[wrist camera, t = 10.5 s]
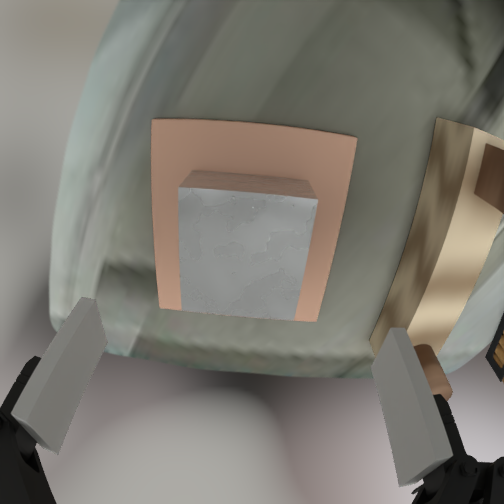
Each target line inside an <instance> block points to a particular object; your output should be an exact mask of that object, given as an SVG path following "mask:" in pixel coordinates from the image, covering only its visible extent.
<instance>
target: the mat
mask: <svg viewBox="0 0 504 504" xmlns="http://www.w3.org/2000/svg"><path fill="white" fill-rule="evenodd" d="M356 144H357V138H356V137H354V136H350V135H344V134H338V133H333V132H326V131H320V130H313V129H306V128H299V127H291V126H283V125H274V124H264V123H254V122H242V121H227V120H209V119H166V118H162V119H152V124H151V188H152V216H153V235H154V251H155V264H156V275H157V286H158V296H159V305H160V308H165V309H173V310H182V307H181V289H180V266H179V229H178V187H179V186H180V184H181V183H182V182H183V181H184V180H185V178H186V177H187V176H188V175H189V173H190V172H191V171H192V170H199V171H215V172H228V173H241V174H252V175H263V176H273V177H283V178H292V179H300V180H308V181H309V183H310V185H311V187H312V189H313V191H314V192H315V194H316V196H317V198H318V204H317V209H316V215H315V220H314V226H313V231H312V236H311V242H310V247H309V252H308V257H307V262H306V267H305V272H304V276H303V281H302V286H301V291H300V295H299V300H298V304H297V309H296V313H295V318H294V321H312V322H316V321H317V318H318V314H319V310H320V307H321V303H322V299H323V296H324V292H325V288H326V284H327V281H328V277H329V273H330V269H331V265H332V261H333V257H334V252H335V248H336V244H337V240H338V235H339V231H340V226H341V222H342V217H343V212H344V208H345V203H346V198H347V193H348V188H349V183H350V178H351V172H352V167H353V161H354V156H355V150H356ZM182 311H183V310H182ZM190 312H191V311H190ZM199 313H200V312H199ZM209 314H210V313H209ZM219 315H220V314H219ZM229 316H230V315H229ZM240 317H242V316H240ZM252 318H254V317H252ZM265 319H266V318H265ZM279 320H281V319H279Z"/></svg>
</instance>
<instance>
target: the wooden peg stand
mask: <svg viewBox="0 0 504 504" xmlns="http://www.w3.org/2000/svg"><path fill="white" fill-rule="evenodd" d="M502 214H504V140H502V139H500V138H498V137H495V136H493V135H491V134H489V133H486V132H484V131H482V130H479V129H477V128H475V127H471V126H468V125H464V124H461V123H457V122H453V121H449V120H445V119H441V118H436V124H435V129H434V135H433V140H432V146H431V151H430V155H429V160H428V165H427V169H426V173H425V178H424V182H423V186H422V190H421V194H420V198H419V202H418V205H417V209H416V212H415V216H414V219H413V223H412V226H411V230H410V233H409V236H408V239H407V243H406V246H405V249H404V252H403V255H402V258H401V261H400V264H399V267H398V269H397V272H396V275H395V278H394V281H393V283H392V286H391V289H390V291H389V294H388V297H387V299H386V302H385V304H384V307H383V309H382V312H381V314H380V317H379V319H378V321H377V324H376V326H375V329H374V331H373V333H372V335H371V338H370V340H369V341H370V344H371V347H372V350H373V352H374V355H375V358H376V356H377V354H378V352H379V350H380V348H381V346H382V344H383V342H384V340H385V338H386V336H387V334H388V332H389V330H390V328H405V329H406V331H407V334H408V336H409V338H410V340H411V343H412V345H413V347H414V350H415V352H416V354H417V357H418V359H419V361H420V364H421V366H422V369H423V371H424V374H425V376H426V379H427V381H428V384H429V386H430V389H431V391H432V394H433V395H435V394H441V395H442V396H443V397H444V398H445V400H446V401H448V399H449V398H450V397H451V395H452V392H453V391H452V388H451V386H450V384H449V382H448V380H447V378H446V375H445V373H444V371H443V369H442V367H441V365H440V363H439V361H438V359H437V357H436V356H437V355H438V353H439V351H440V350H441V348H442V346H443V345H444V343H445V341H446V339H447V338H448V336H449V334H450V332H451V331H452V329H453V327H454V325H455V323H456V322H457V320H458V318H459V316H460V314H461V312H462V310H463V308H464V306H465V304H466V302H467V300H468V298H469V296H470V294H471V292H472V290H473V288H474V286H475V283H476V281H477V279H478V277H479V275H480V272H481V270H482V268H483V265H484V263H485V260H486V258H487V256H488V253H489V251H490V248H491V245H492V243H493V240H494V237H495V235H496V232H497V229H498V226H499V223H500V220H501V217H502Z"/></svg>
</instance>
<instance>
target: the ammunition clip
mask: <svg viewBox="0 0 504 504" xmlns="http://www.w3.org/2000/svg"><path fill="white" fill-rule="evenodd" d="M486 359H487V361H488V362H489V364H490V365H491V367H492V369H493V370H494V372H495V373H496V375H497V377H498V378H499V380H500V382H501V381H503V382H504V313H503V316H502V319H501V321H500V324H499V326H498V329H497V331H496V334H495V336H494V339H493V341H492V343H491V345H490V348H489V350H488V352H487V354H486Z"/></svg>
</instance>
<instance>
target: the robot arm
mask: <svg viewBox="0 0 504 504" xmlns="http://www.w3.org/2000/svg"><path fill="white" fill-rule="evenodd" d="M107 343H108V341H107V338H106V335H105V331H104V328H103V324H102V321H101V317H100V314H99V310H98V306H97V302H96V299H91V298H85V297H81V299H80V300H79V302H78V303H77V304H76V306H75V307H74V309H73V310H72V312H71V313H70V315H69V316H68V318H67V319H66V321H65V322H64V324H63V325H62V327H61V328H60V330H59V331H58V333H57V334H56V336H55V338H54V339H53V341H52V342H51V344H50V346H49V347H48V349H47V350H46V352H45V353H44V355H43V357H42V358H40V357H37V356H34V357H33V358H32V359H30V360H29V361H28V362H27V363H26V364H25V366H24V368H23V369H22V371H21V372H20V373H21V374H20V375H19V376H18V377H17V379H16V382H15V383H14V384H13V386H12V388H11V390H10V391H9V393H8V395H7V397H6V399H5V400H4V402H3V404H2V406H1V407H0V504H56V501H55V499H54V497H53V494H52V492H51V490H50V487H49V484H48V481H47V479H46V476H45V473H44V471H43V468H42V465H41V462H40V459H39V456H38V453H37V450H36V448H35V446H36V443H38V444H39V445H40V446H41V447H42V448H43V449H46V450H48V451H50V452H52V453H54V454H57V455H58V454H59V451H60V448H61V446H62V444H63V441H64V438H65V436H66V433H67V431H68V429H69V426H70V424H71V421H72V419H73V416H74V414H75V412H76V409H77V407H78V405H79V403H80V400H81V398H82V396H83V393H84V391H85V389H86V387H87V385H88V382H89V380H90V378H91V376H92V374H93V372H94V369H95V367H96V365H97V363H98V361H99V359H100V357H101V355H102V353H103V351H104V349H105V347H106V345H107ZM371 370H372V373H373V377H374V380H375V384H376V388H377V392H378V396H379V399H380V403H381V406H382V411H383V415H384V419H385V423H386V427H387V432H388V436H389V440H390V445H391V449H392V453H393V458H394V463H395V468H396V473H397V478H398V484H399V487H402V486H407V485H411V484H415V483H417V482H418V481H419V480H421V479H423V481H424V484H423V485H421V486H419V487H418V488H416V489H415V490H414V491H413V492H412V494H415V493H416V492H418V493H417V495H416V497H415V499H414V500H413V502H412V504H504V457H500V458H499V459H497V460H496V461H495V462H493V463H489V462H477V460H476V459H475V458H474V457H472V456H470V455H467V454H466V452H465V449H464V446H463V443H462V440H461V437H460V434H459V431H458V428H457V426H456V423H454V422H455V420H454V417H453V415H452V412H451V409H450V407H449V404H448V402H447V401H446V400H445V398H444V397H443V396H442V395H441V394H435V395H433V394H432V391H431V389H430V386H429V384H428V381H427V379H426V376H425V374H424V371H423V369H422V366H421V364H420V361H419V359H418V357H417V354H416V352H415V350H414V347H413V345H412V343H411V340H410V338H409V336H408V334H407V331H406V329H405V328H390V330H389V332H388V334H387V336H386V338H385V340H384V342H383V344H382V346H381V348H380V350H379V352H378V354H377V356H376V358H375V360H374V362H373V364H372V366H371Z"/></svg>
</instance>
